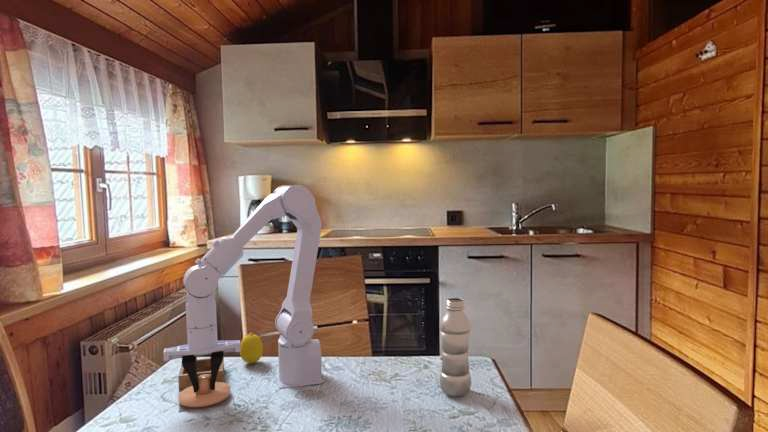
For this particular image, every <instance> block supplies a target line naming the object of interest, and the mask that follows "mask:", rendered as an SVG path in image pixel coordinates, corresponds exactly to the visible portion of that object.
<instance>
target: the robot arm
mask: <svg viewBox="0 0 768 432" xmlns="http://www.w3.org/2000/svg"><path fill="white" fill-rule="evenodd" d="M285 217H287V218H289V220H290V221H291V223H292V224H293V225H294V226H295V227H296V230H297V231H296V238H295V244H294V248H293V249H294V251H293V256H292V261H291V262H292V263H291V267H290V275H289V281H288V286H287V293H286V297H285V298H284V300H283V301H282V303H281V309H280V311H279V313H278V314H277V315H276V317H275V321H274V327H275V329H276V330H277V332H278V333H279V334H280V335H279V338H278V340H277V343H278V344H277V345H278V346H277V348H278V349H277V350H278V352H277V353H278V372H277V373H276V374H275V376H276V382H277V385H278V389H281V390H282V389H288V388H289V389H290V388H295V387H307V386H312V385H313V386H314V385H319V384H323V374H322V372H323V369H322V366H323V365H322V364H323V363H322V348H321V342H320V339H318V338H316V339H315V338H314V339H313V337H314V333H315V328H314V327H315V325H314V323H313V315H314V313H313V308H312V305H311V294H312V288H313V283H314V282H313V281H314V276H315V269H316V264H317V257H318V251H319V245H320V240H321V239H320V238H321V233H322V226H323V225H322V223H323V222H322V219H321V217H320V214H319V211H318V207H317V205H316V197H315V196H314V195H313V194H312V193H311V191H310V190H308V188H307V187H305V186H304V185H299V184H294V185H287V184H283V185H279V186H278V187H277V188H275V190H274V191H273V193H270V194H269V195H267V196H266V197H265V198H264V199H263V200H262V201H261V203H260V204H258V206H257V207H256V208H255V209H254V210H253V212H251V214H249V216H248V217H247V218H246V220H244V221H243V223H242V224H241V225H239V227H238V228H237V230H236V231H234V233H233V234H232V235H231V236H223V237H221V238H220V239H219V240H218V239H214V240H213V242H212V243H211V245H212V247H211V248H210V249H209V250H208V251H207V252H206V253H205V254H204V256H202V257H201V258H196V260H195V261H194V263H195V265H193V266H191V267H189V268H188V269H187V271H185V273H184V276H183V279H182V284H183V286H184V287H185V289H186V291H185V292H186V295H185V300H186V302H185V316H186V317H185V318H186V321H185V322H186V337H187V338H186V341H187V342H186V343H187V344H186V343H185V344H183V345H177V346H172V347H167V348H166V347H165V348H164V349H163V362H167V361H168V362H169V361H171V360H174V359H175V360H176V359H181V365H182V366H183V368H184V369H185V371H186V372H187V374H188V376H189V378H190V380H191V383H192V386H193V389H194V393H196V392H198V380H197V359H198V358H197V357H199V356H207V355H208V356H209V355H210V357H209V358H210V362H211V390H215V382H216V377H217V374H218V371H219V368H220V366H221V363H222V361H223V357H224V354H225V353H232V352H233V353H234V352H235V353H240V344H241V340H240V339H237V340H218V321H217V301H216V299H215V298H216V297H215V295H216V294H215V292H216V290H217V288H218V285H219V280H220V279H222V278H223V277H224V276H226V274H227V273H228V272H229V271H230V270H231V269H232V268H233V267H234V266H235V265H236V264H237V263H238V262H239V260H241V258H242V257H243V256H244V246H245V245H247V244H248V242H249V241H251V240H252V239H253V238H254V237H255V236H256V235H257V234H258V233H259V232H261V230H262V229H264V227H265V226H266V225H267V224H268V223H269V222H270V221H272V220H276V219H280V218H285Z"/></svg>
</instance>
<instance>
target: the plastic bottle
mask: <svg viewBox="0 0 768 432" xmlns="http://www.w3.org/2000/svg"><path fill="white" fill-rule="evenodd" d="M445 309H446V312H445V314H444V315H443V316H442V317H441V320H440V322H439V331H440V339H441V348H442V361H441V363H442V364H441V371H440V377H439V385H440V389H441V391H442V392H443V393H444V394H445V395H447V396H449V397H455V398H456V397H459V398H461V397H464V396H466V395H467V394H469V392H470V390H471V386H472V378H471V371H470V364H469V346H470V345H469V342H470V337H471V336H470V335H471V327H472V325H471V321H470V319H469V317H468V316H467V315H466V313H465V312H464V310H465V299H463V298H462V297H461V298H460V297H449V298H447V299H446V305H445Z"/></svg>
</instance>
